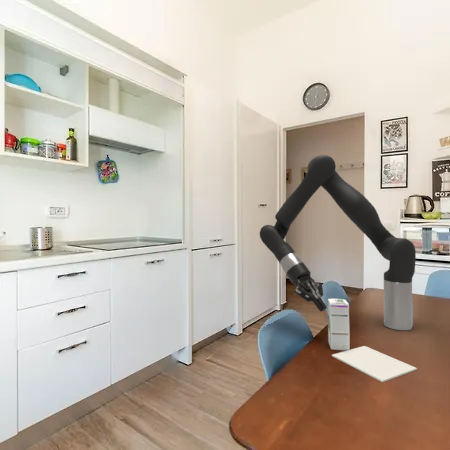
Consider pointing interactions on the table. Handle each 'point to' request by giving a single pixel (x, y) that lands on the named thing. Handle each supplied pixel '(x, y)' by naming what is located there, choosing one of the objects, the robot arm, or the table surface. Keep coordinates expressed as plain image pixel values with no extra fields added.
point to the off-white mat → (374, 363)
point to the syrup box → (338, 324)
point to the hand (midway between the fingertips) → (324, 309)
